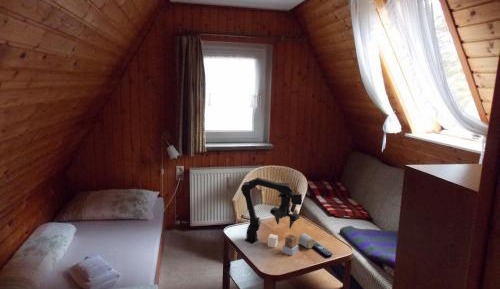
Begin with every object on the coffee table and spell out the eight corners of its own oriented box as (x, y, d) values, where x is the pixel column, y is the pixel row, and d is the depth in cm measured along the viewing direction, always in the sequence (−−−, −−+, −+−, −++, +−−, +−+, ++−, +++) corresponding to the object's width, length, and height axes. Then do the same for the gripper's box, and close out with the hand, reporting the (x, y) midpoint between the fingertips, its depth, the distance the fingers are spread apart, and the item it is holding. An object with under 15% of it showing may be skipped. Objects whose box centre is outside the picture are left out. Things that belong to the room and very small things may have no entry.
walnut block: (284, 246, 205) (285, 237, 204) (289, 243, 209) (289, 234, 208) (291, 248, 203) (292, 239, 201) (296, 245, 206) (296, 236, 205)
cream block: (267, 245, 213) (268, 237, 212) (270, 242, 218) (270, 234, 216) (275, 247, 211) (275, 238, 210) (277, 244, 216) (278, 235, 215)
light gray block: (282, 252, 206) (282, 246, 205) (288, 247, 212) (288, 241, 211) (292, 255, 202) (292, 249, 201) (297, 251, 208) (298, 245, 207)
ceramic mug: (307, 250, 209) (308, 239, 207) (297, 245, 215) (298, 234, 213) (318, 246, 215) (319, 235, 214) (308, 241, 221) (309, 230, 220)
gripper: (265, 203, 210) (264, 226, 213) (291, 211, 199) (290, 235, 202) (275, 198, 219) (274, 220, 222) (300, 205, 208) (299, 229, 211)
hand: (283, 226), depth 214 cm, fingers open, 9 cm apart
